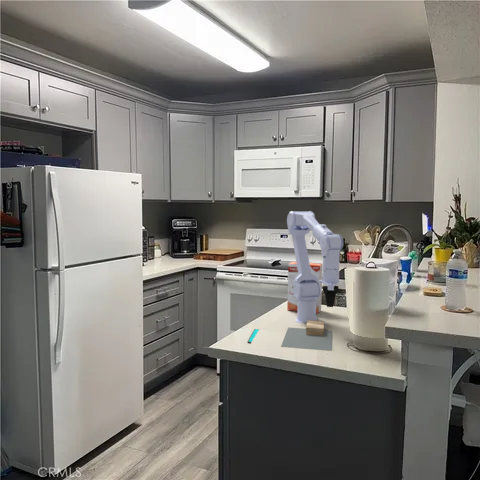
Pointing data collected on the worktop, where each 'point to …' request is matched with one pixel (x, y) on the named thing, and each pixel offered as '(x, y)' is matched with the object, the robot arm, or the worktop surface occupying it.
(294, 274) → the cracker box
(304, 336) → the rubber mat
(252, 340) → the smartphone
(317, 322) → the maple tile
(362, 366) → the worktop surface
